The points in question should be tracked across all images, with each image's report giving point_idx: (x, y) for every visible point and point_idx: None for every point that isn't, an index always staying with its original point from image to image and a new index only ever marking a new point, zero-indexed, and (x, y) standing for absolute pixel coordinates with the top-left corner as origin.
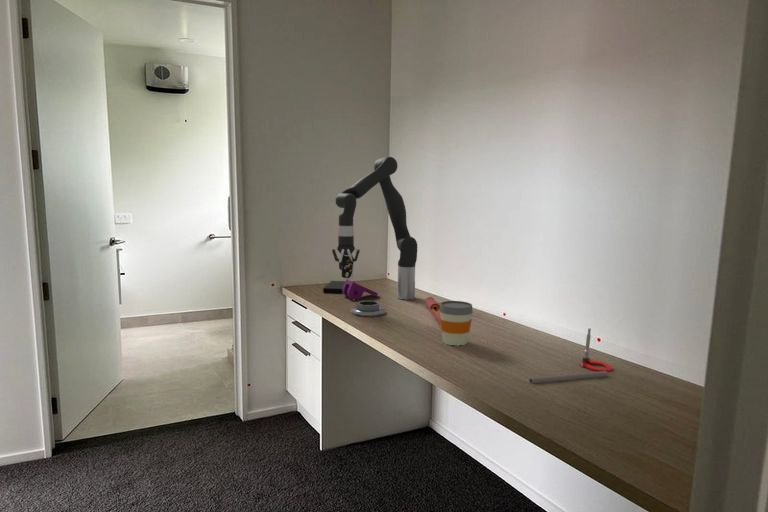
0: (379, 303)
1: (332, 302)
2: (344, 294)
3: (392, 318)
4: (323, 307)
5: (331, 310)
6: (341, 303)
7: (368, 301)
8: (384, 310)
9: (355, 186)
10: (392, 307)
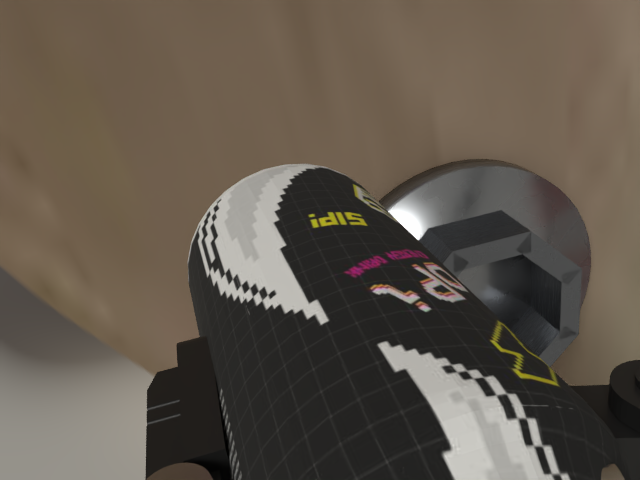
0: (577, 280)
1: (3, 3)
2: None
3: (614, 363)
4: (28, 259)
5: (154, 330)
6: (132, 26)
7: (488, 261)
8: (584, 285)
9: None
10: (636, 53)
